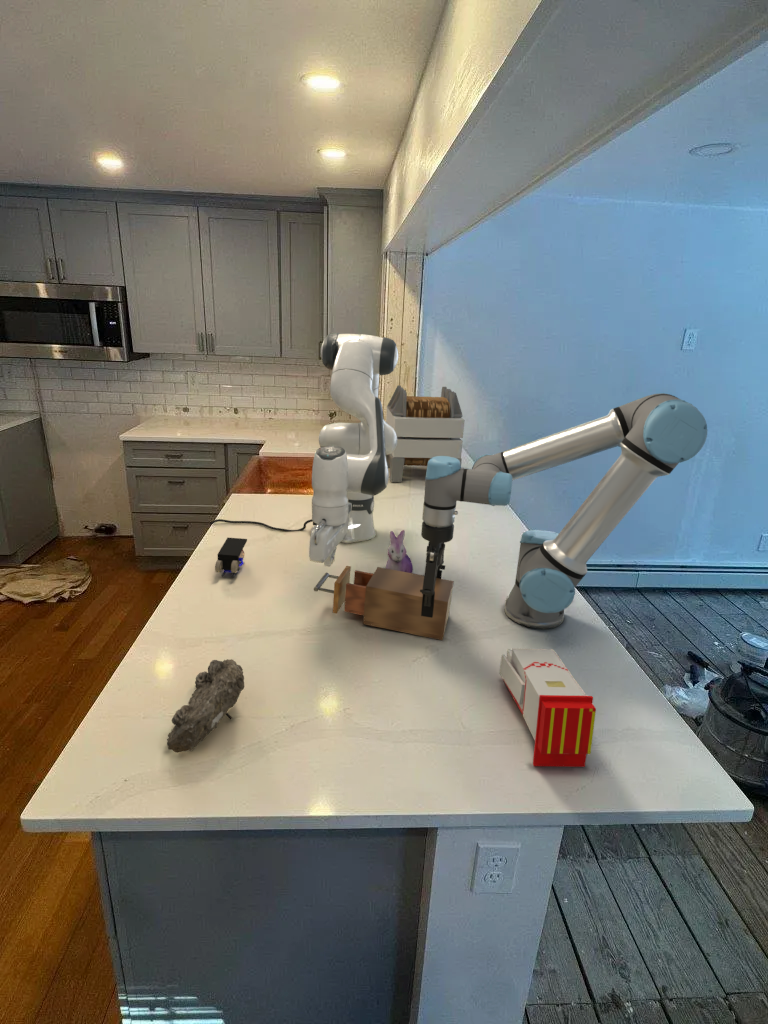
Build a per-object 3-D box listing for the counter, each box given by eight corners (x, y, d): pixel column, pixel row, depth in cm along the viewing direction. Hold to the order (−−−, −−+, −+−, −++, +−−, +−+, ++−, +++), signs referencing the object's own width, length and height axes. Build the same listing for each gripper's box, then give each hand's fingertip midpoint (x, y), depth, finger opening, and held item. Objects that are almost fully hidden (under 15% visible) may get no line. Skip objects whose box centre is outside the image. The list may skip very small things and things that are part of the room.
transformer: (382, 463, 289) (386, 382, 275) (445, 464, 293) (451, 384, 279) (390, 482, 257) (394, 392, 243) (460, 483, 261) (468, 394, 247)
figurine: (392, 589, 160) (394, 540, 155) (375, 574, 168) (377, 527, 163) (420, 583, 164) (424, 535, 159) (403, 569, 172) (406, 523, 167)
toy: (549, 630, 124) (606, 704, 95) (544, 686, 127) (597, 774, 98) (495, 629, 124) (534, 703, 95) (490, 685, 127) (527, 774, 97)
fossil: (192, 660, 117) (244, 628, 112) (224, 691, 120) (276, 661, 115) (142, 746, 98) (202, 712, 93) (182, 779, 101) (242, 748, 96)
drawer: (311, 608, 143) (313, 578, 140) (324, 590, 153) (326, 561, 150) (404, 627, 139) (408, 596, 136) (412, 607, 148) (416, 578, 145)
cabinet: (362, 623, 140) (366, 586, 137) (374, 602, 151) (377, 566, 147) (442, 640, 137) (448, 602, 133) (448, 617, 147) (453, 581, 143)
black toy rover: (238, 584, 162) (249, 557, 175) (236, 562, 158) (247, 536, 172) (215, 584, 161) (227, 556, 175) (212, 561, 158) (225, 535, 171)
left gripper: (328, 529, 129) (327, 584, 134) (353, 501, 147) (352, 550, 152) (302, 526, 130) (302, 580, 135) (330, 498, 149) (330, 547, 154)
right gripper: (447, 543, 121) (439, 631, 129) (459, 508, 143) (451, 585, 151) (413, 538, 123) (406, 625, 130) (430, 504, 145) (424, 581, 152)
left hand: (329, 564), depth 144 cm, fingers closed
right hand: (430, 604), depth 141 cm, fingers closed on cabinet, 11 cm apart
